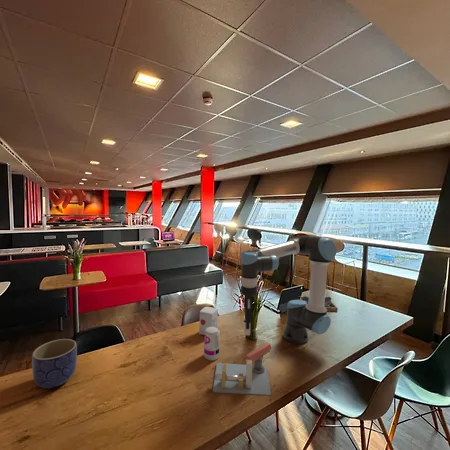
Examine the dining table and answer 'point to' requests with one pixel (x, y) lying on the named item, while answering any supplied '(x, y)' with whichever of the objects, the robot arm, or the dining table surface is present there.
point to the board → (258, 382)
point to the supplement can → (211, 343)
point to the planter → (54, 363)
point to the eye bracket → (240, 383)
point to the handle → (258, 353)
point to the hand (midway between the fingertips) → (247, 333)
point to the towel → (327, 300)
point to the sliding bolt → (236, 377)
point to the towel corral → (332, 308)
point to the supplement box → (207, 318)
